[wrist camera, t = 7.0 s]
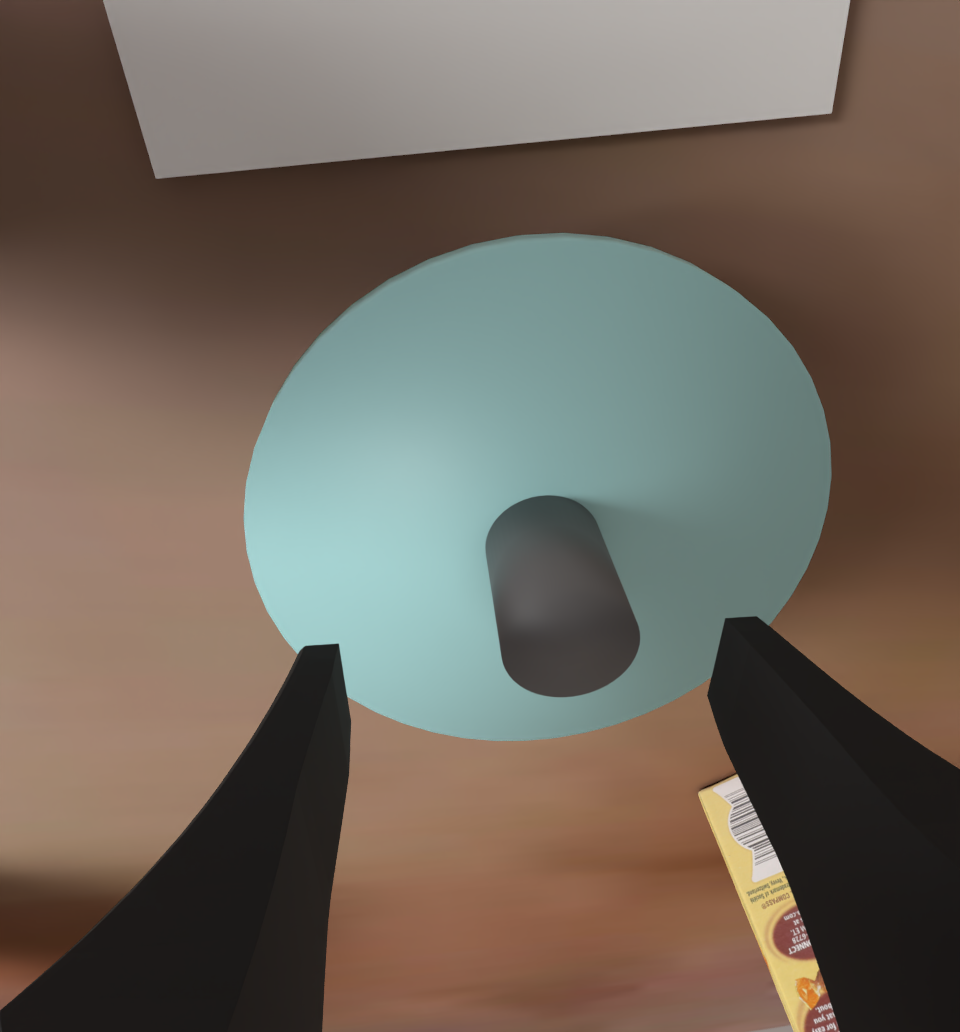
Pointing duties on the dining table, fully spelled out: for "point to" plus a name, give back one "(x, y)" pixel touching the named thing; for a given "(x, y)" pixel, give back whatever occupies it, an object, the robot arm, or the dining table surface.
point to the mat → (457, 73)
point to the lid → (536, 485)
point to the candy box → (769, 906)
